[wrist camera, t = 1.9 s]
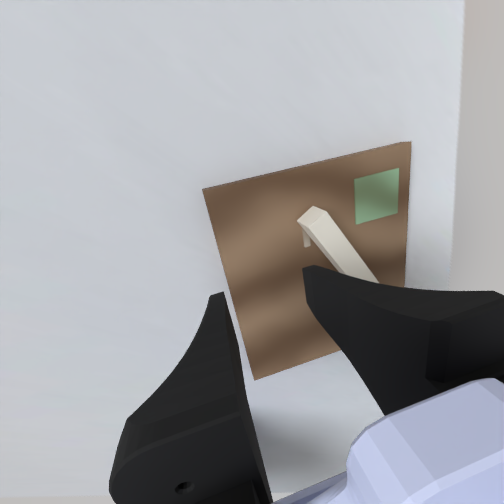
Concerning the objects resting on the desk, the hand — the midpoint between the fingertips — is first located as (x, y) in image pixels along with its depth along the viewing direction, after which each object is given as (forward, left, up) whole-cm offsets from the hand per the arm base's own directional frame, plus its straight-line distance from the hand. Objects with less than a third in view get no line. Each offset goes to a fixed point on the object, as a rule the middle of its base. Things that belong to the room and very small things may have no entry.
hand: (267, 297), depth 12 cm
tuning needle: (-5, -9, -7) cm, 12 cm away
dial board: (-4, -6, -8) cm, 12 cm away
